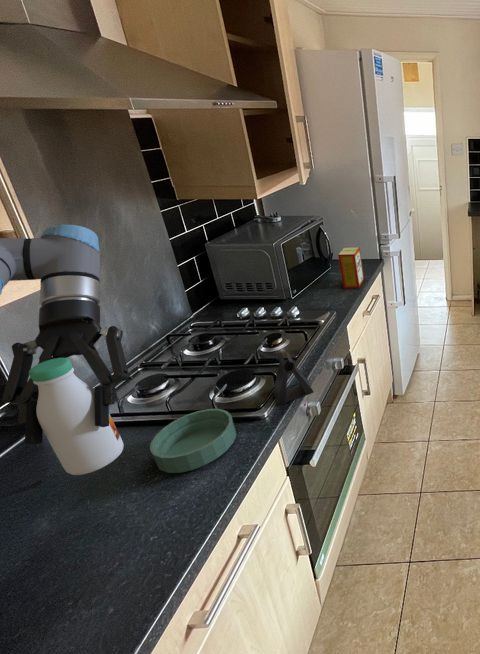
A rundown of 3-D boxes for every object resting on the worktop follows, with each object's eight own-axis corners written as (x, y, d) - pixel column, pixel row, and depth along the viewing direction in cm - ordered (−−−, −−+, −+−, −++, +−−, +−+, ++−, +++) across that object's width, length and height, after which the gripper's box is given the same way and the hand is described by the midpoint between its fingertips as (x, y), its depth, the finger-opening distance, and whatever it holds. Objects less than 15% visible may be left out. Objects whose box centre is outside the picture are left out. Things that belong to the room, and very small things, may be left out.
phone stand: (277, 405, 110) (268, 368, 106) (273, 394, 115) (264, 357, 110) (313, 392, 116) (305, 356, 111) (308, 382, 120) (300, 346, 115)
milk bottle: (121, 463, 73) (75, 368, 65) (60, 484, 69) (4, 386, 61) (128, 436, 79) (87, 346, 71) (72, 453, 75) (22, 360, 67)
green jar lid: (144, 482, 88) (136, 465, 86) (174, 432, 102) (167, 416, 100) (225, 465, 92) (220, 448, 90) (244, 419, 106) (239, 403, 104)
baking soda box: (359, 288, 181) (354, 253, 175) (343, 288, 180) (338, 254, 174) (364, 279, 189) (359, 246, 183) (349, 280, 189) (344, 246, 183)
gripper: (150, 301, 82) (156, 416, 75) (6, 324, 74) (-3, 457, 67) (133, 287, 76) (138, 411, 69) (-28, 311, 67) (-41, 455, 60)
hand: (68, 434), depth 68 cm, fingers closed on milk bottle, 8 cm apart
